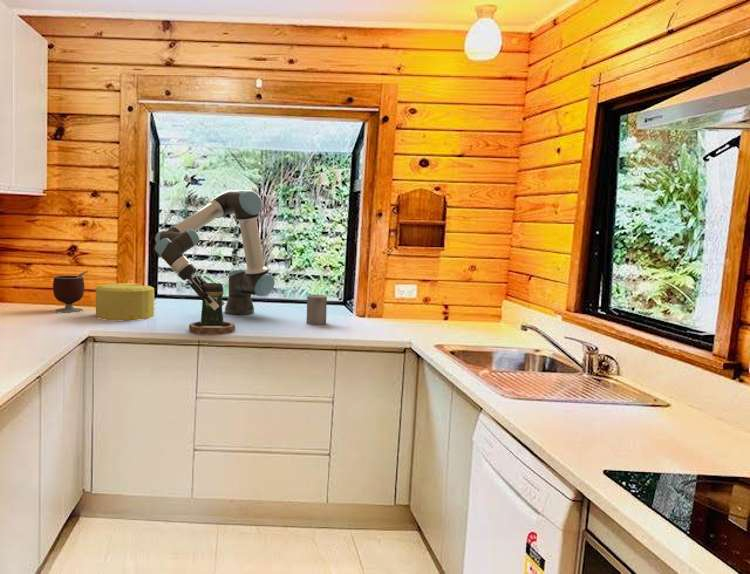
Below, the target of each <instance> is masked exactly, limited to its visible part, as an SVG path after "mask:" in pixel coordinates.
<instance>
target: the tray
mask: <svg viewBox="0 0 750 574" xmlns="http://www.w3.org/2000/svg"><path fill="white" fill-rule="evenodd" d="M189 330H190V332H191V333H192V332H193V333H194V334H198V335H225V334H231V333H233V332H235V331H236V324H235V323H234V322H231V321H226V320H225V321H224V320H223V324H222V325H217V326H206V325H202V324H201V320H200V321H194V322H191V323H188V331H189ZM234 330H235V331H234Z"/></svg>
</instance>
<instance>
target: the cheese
mask: <svg viewBox="0 0 750 574" xmlns="http://www.w3.org/2000/svg"><path fill="white" fill-rule="evenodd" d="M153 316H154V317H155V288H154V287H153V286H151V285H143V284H141V283H134V282H133V283H130V282H129V283H127V282H124V283H118V282H117V283H106V284H101V285H98V286H97V287H96V288H95V318H96V319H98V318H100V319H99V320H101V319H106V320H105V321H109V320H135V321H138V320H137V319H144V320H147V319H146V318H149V319H151V318H150V317H153ZM154 317H153V318H154Z"/></svg>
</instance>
